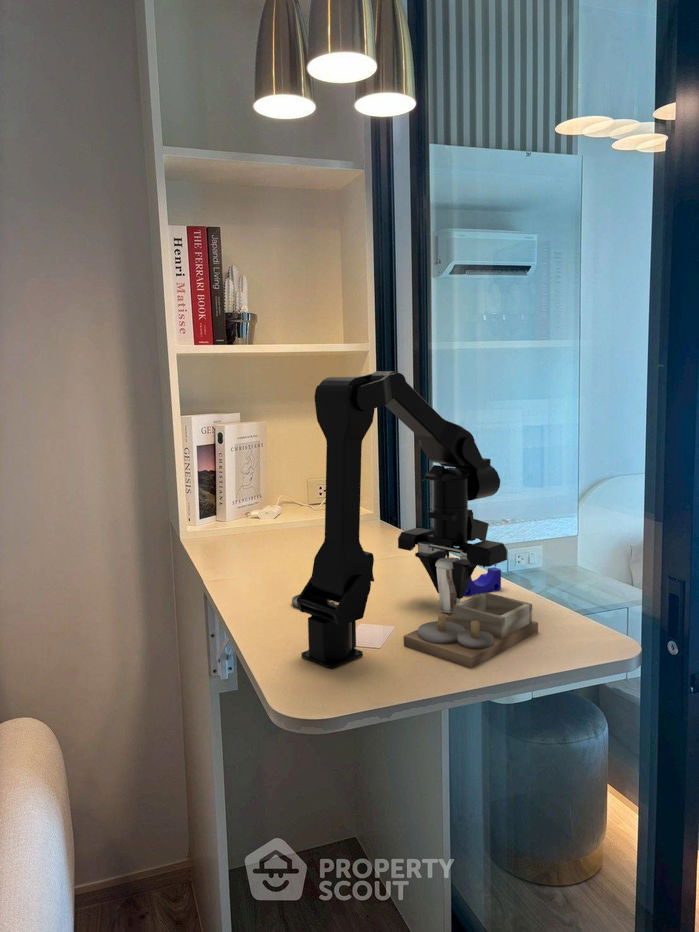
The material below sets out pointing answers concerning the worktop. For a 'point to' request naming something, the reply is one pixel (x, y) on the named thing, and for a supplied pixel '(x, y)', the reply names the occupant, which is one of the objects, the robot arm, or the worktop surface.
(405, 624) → the worktop surface
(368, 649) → the worktop surface
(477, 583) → the cable holder
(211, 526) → the worktop surface
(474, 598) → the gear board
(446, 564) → the milkshake
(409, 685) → the worktop surface
